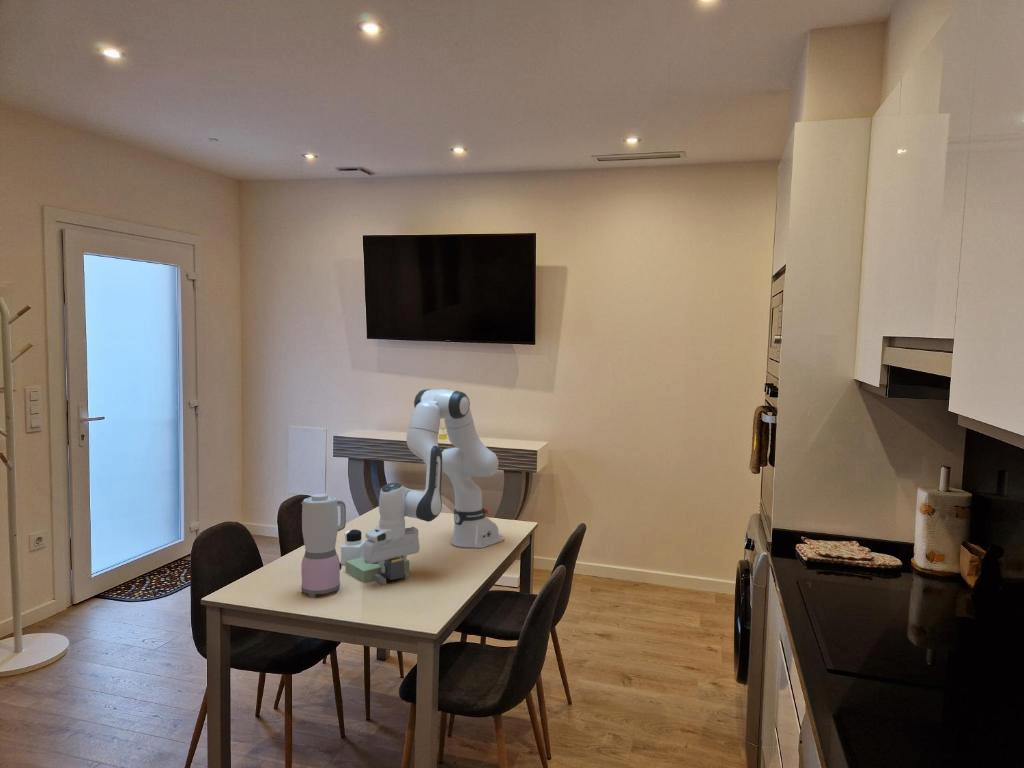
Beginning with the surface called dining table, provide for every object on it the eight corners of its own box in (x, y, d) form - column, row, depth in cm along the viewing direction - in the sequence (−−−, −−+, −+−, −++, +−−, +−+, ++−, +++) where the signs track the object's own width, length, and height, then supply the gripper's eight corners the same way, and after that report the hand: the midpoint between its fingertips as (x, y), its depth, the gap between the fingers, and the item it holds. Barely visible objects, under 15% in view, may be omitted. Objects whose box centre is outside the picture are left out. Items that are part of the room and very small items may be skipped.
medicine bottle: (365, 559, 254) (365, 528, 253) (359, 565, 247) (359, 533, 246) (347, 559, 255) (347, 527, 254) (340, 565, 248) (340, 533, 247)
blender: (312, 601, 213) (310, 501, 211) (294, 590, 222) (292, 495, 220) (355, 588, 224) (354, 494, 222) (337, 579, 233) (336, 488, 231)
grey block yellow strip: (393, 571, 237) (393, 553, 236) (404, 576, 231) (404, 558, 231) (381, 574, 233) (381, 556, 233) (391, 580, 228) (391, 561, 228)
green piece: (390, 561, 252) (389, 543, 251) (418, 576, 236) (418, 556, 236) (345, 571, 240) (345, 552, 240) (372, 587, 225) (371, 567, 224)
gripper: (413, 523, 240) (413, 561, 241) (361, 534, 227) (361, 574, 228) (422, 527, 235) (423, 566, 236) (370, 538, 222) (370, 579, 223)
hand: (392, 570), depth 232 cm, fingers closed on grey block yellow strip, 5 cm apart
